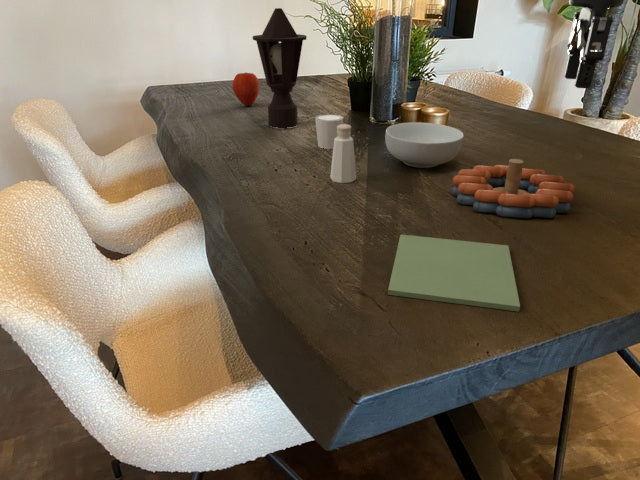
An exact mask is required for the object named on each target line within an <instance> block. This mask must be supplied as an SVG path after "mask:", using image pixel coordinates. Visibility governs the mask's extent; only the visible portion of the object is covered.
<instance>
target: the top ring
mask: <svg viewBox="0 0 640 480" xmlns="http://www.w3.org/2000/svg"><path fill="white" fill-rule="evenodd" d="M507 171H508V165H501V164H496V165H494V166H493V165H478V164H477V165H475V166H473V167H472V169H469V168H462V169H459V171H458V172H457V175H455V176H453V178H452V184H453V185H454V186H459V187H458V191H459V192H460V193H461V194H469V195H475V199H476V200H477V201H482V202H494V203H499V204H500V205H503V206H514V207H525V208H531V207H533V206H541V207H556V206H557V205H558V203H559V202H565V203H567V202H570V201H571V200H572V201H573V199H574V193H575V191H576V187H575V185H574V184H573V183H569V182H566V180H565V178H564V177H563V176H562V175H554V174H553V175H552V174H547V171H545V170H544V169H536V168H524V167H523V168H522V174H521V179H528V180H530V182H531V184H533V185H539V187H538V188H539V190H537V192H536V194H528V193H529V192H528V193H526V194H523V195H514V194H510V193H508V192H503V191H493V188H494V187H492V186H491V185H486V181H488V180H489V179H490V177H502V176H507Z"/></svg>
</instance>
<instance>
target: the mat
mask: <svg viewBox="0 0 640 480" xmlns="http://www.w3.org/2000/svg"><path fill="white" fill-rule="evenodd" d="M387 295H388V296H396V297H403V298H409V299H410V298H411V299H418V300H424V301H425V300H427V301H432V302H433V301H434V302H440V303H441V302H442V303H448V304H457V305H465V306H472V307H480V308H485V309H486V308H487V309H495V310H502V311H512V312H518V313H519V312H520V310H521V303H520V297H519V293H518V288H517V281H516V278H515V272H514V267H513V262H512V257H511V252H510V247H509V244H507V245H506V244H497V243H487V242H478V241H468V240H459V239H449V238H439V237H429V236H420V235H411V234H400V235H399V240H398V243H397V248H396V252H395V257H394V261H393V265H392V271H391V275H390V280H389V284H388V289H387Z"/></svg>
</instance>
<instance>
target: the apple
mask: <svg viewBox="0 0 640 480" xmlns="http://www.w3.org/2000/svg"><path fill="white" fill-rule="evenodd" d="M232 91H233V94H234V95H235V97H236V98H237V99H238V101H239V102H240V103H241V104H242V105H243V104H244V105H251V104H253V105H254V103H255V102H256V100H257V98H258V95H259V92H260V81H259V78H258V77H257V75H256V74H254V73H252V72H246V71H245V72H239V73H236V75H235V76H234V78H233V81H232ZM244 105H243V106H244Z"/></svg>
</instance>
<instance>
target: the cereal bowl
mask: <svg viewBox="0 0 640 480" xmlns="http://www.w3.org/2000/svg"><path fill="white" fill-rule="evenodd" d="M384 135H385V136H384V140H385V146H386V149H387V151H388V152H389V153H390V155H391V156H392V157H394V158H395V159H397V160H399V161H401V162H402V163H403V164H405V165H407V166H409V167H413V168H419V169H431V168H435V167H437V166H439V165H441V164H442V165H443V164H446V163H447V162H448V163H449V162H450V161H453V160H454V159H455V158H456V157H457V156H458V155H459V153H460V152H461V150H462V147H463V143H464V137H465V135H464V133H463V131H462V130H460V129H458V128H455V127H453V126H449V125H444V124H441V123H440V124H439V123H432V122H416V121H415V122H413V121H412V122H411V121H410V122H401V123H395V124H391V125H390V126H388V127H387V128H386V130H385V134H384Z"/></svg>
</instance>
